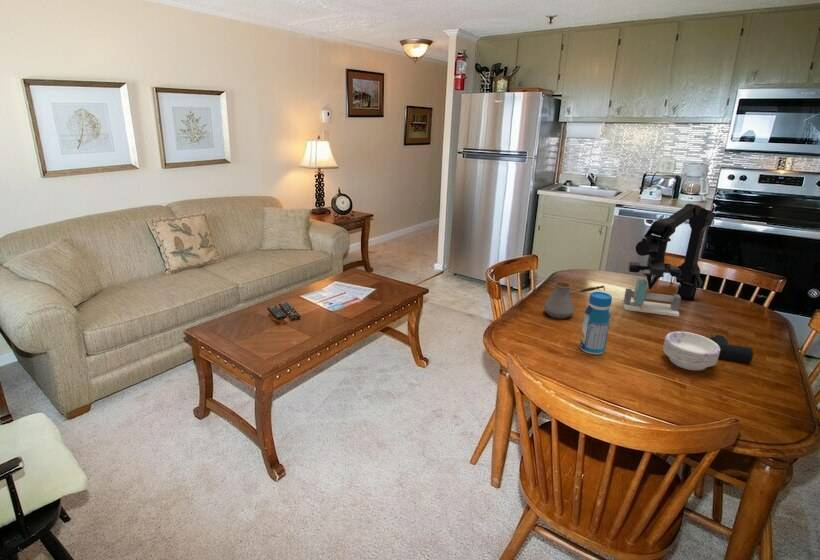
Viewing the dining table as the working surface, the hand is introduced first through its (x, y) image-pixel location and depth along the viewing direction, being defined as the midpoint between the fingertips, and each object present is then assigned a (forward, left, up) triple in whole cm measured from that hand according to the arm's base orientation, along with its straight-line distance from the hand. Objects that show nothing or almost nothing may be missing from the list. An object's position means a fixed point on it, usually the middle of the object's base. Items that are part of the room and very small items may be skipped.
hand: (649, 289), depth 186 cm
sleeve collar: (+3, 0, -6) cm, 7 cm away
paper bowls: (-7, +46, -9) cm, 47 cm away
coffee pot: (+29, +21, -9) cm, 37 cm away
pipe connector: (-18, +34, -9) cm, 40 cm away
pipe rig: (-2, 0, -9) cm, 9 cm away
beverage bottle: (+22, +47, -9) cm, 53 cm away
